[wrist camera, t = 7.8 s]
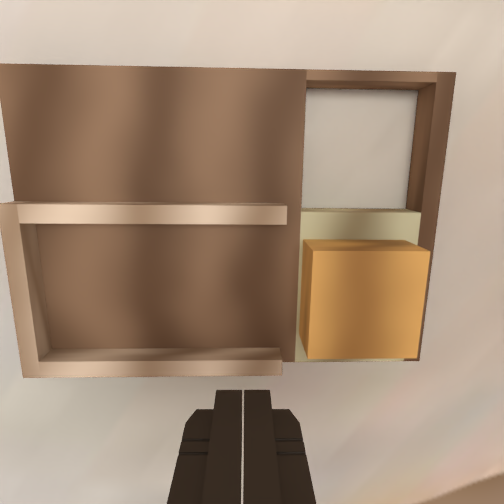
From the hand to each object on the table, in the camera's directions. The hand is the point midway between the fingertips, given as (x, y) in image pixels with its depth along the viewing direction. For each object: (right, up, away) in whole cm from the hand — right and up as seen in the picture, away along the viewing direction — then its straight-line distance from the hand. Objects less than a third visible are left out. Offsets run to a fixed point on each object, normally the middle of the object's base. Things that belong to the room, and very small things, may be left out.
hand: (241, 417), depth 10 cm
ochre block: (+6, +2, +12) cm, 13 cm away
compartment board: (-1, +6, +13) cm, 14 cm away
